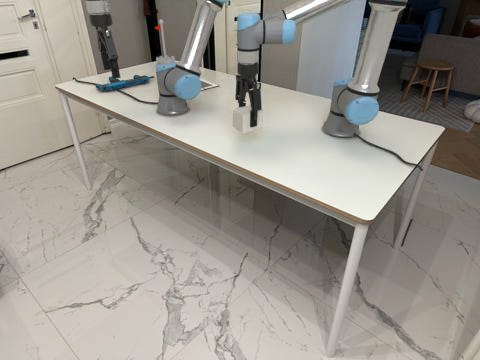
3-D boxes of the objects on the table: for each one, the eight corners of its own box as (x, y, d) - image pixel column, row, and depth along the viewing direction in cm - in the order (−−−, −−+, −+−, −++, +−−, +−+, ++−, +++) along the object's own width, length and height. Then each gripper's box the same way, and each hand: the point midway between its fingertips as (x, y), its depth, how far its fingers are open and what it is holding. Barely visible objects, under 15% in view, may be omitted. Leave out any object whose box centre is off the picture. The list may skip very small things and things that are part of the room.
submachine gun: (140, 69, 223) (158, 75, 206) (141, 75, 225) (159, 81, 208) (87, 79, 204) (103, 87, 188) (89, 85, 206) (105, 94, 190)
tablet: (161, 80, 212) (161, 79, 212) (189, 74, 223) (188, 73, 223) (190, 93, 191) (190, 92, 191) (218, 85, 203) (218, 85, 202)
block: (262, 128, 132) (263, 110, 128) (242, 133, 128) (242, 115, 124) (252, 121, 137) (252, 104, 133) (233, 126, 133) (232, 108, 129)
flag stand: (173, 62, 249) (168, 17, 233) (177, 66, 239) (172, 20, 223) (155, 64, 245) (149, 18, 229) (158, 68, 235) (152, 21, 219)
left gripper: (119, 16, 113) (131, 80, 125) (102, 9, 131) (113, 65, 142) (96, 18, 110) (110, 83, 121) (81, 10, 128) (95, 67, 139)
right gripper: (273, 67, 113) (270, 129, 126) (242, 55, 128) (242, 112, 140) (254, 70, 110) (253, 134, 123) (224, 57, 125) (226, 116, 137)
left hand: (112, 73), depth 132 cm, fingers open, 13 cm apart
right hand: (247, 122), depth 131 cm, fingers closed on block, 7 cm apart
